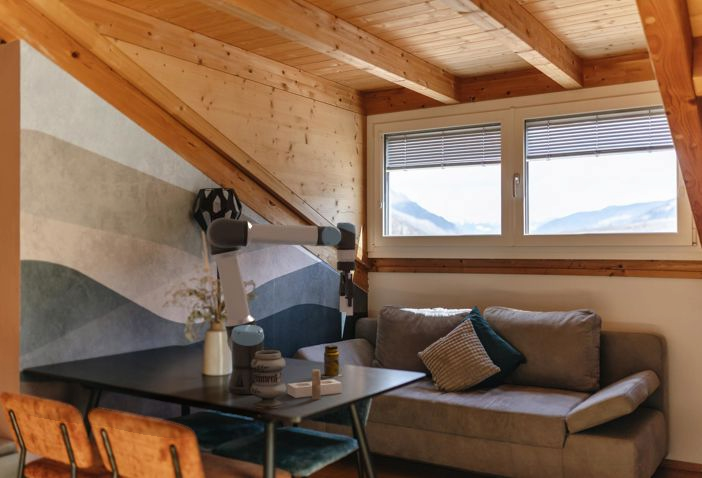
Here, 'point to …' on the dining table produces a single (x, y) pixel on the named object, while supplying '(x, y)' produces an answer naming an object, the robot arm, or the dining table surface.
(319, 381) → the dowel
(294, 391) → the hole block
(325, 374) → the condiment
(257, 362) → the apothecary jar
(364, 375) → the dining table surface
